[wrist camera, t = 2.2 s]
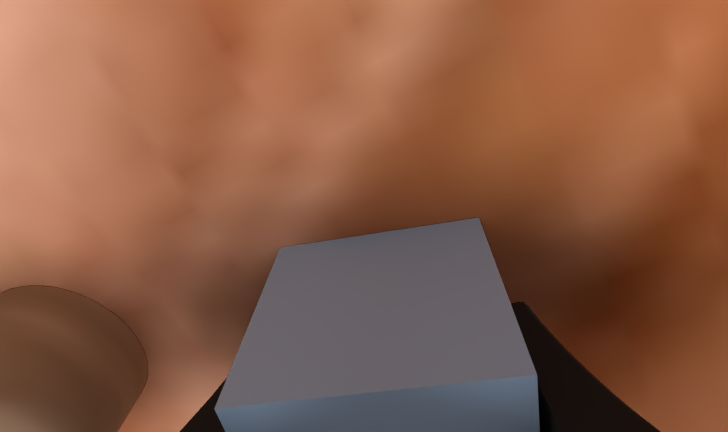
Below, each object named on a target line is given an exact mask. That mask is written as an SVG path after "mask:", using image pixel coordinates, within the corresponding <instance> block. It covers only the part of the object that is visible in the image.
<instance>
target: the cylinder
mask: <svg viewBox="0 0 728 432" xmlns="http://www.w3.org/2000/svg"><path fill="white" fill-rule="evenodd" d="M147 377H148V364H147V359H146V355H145V352H144V350H143V348H142V346H141V344H140V342H139V341H138V339H137V337H136V336H135V335H134V333H133V332H132V331H131V329H130V328H129V327H128V326H127V325H126V324H125V323H124V322H123V321H122V320H121V319H120V318H118V317H117V316H116V315H115V314H114V313H112V312H111V311H109V310H108V309H107V308H105V307H104V306H102V305H100V304H99V303H97V302H95V301H93V300H91V299H89V298H87V297H85V296H82V295H80V294H77V293H74V292H71V291H68V290H64V289H60V288H56V287H48V286H21V287H17V288H12V289H9V290H7V291H4V292H2V293H0V432H118V430H119V429H120V427H121V425H122V424H123V422H124V420H125V419H126V417H127V415H128V414H129V412H130V410H131V409H132V407H133V405H134V404H135V402H136V400H137V399H138V397H139V395H140V394H141V392H142V390H143V388H144V386H145V384H146V381H147Z"/></svg>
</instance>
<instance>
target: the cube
mask: <svg viewBox="0 0 728 432" xmlns="http://www.w3.org/2000/svg"><path fill="white" fill-rule="evenodd" d="M214 409H215V411H216V413H217V415H218V418H219V420H220V422H221V424H222V426H223V428H224V430H225V432H540V424H539V403H538V383H537V373H536V371H535V368H534V365H533V362H532V360H531V357H530V354H529V352H528V349H527V346H526V344H525V341H524V338H523V336H522V333H521V330H520V327H519V325H518V322H517V319H516V317H515V314H514V311H513V309H512V306H511V303H510V300H509V298H508V295H507V292H506V290H505V287H504V284H503V282H502V279H501V276H500V274H499V271H498V268H497V265H496V263H495V260H494V257H493V255H492V252H491V249H490V247H489V244H488V241H487V239H486V236H485V233H484V230H483V228H482V225H481V222H480V220H479V218H473V219H466V220H460V221H453V222H446V223H440V224H433V225H427V226H420V227H413V228H407V229H400V230H394V231H387V232H380V233H374V234H367V235H361V236H354V237H347V238H341V239H334V240H328V241H321V242H314V243H308V244H301V245H295V246H288V247H281V248H280V249H279V252H278V254H277V257H276V259H275V262H274V264H273V267H272V269H271V271H270V274H269V276H268V279H267V281H266V284H265V286H264V289H263V291H262V293H261V296H260V298H259V301H258V303H257V306H256V308H255V311H254V313H253V315H252V318H251V320H250V323H249V325H248V328H247V330H246V333H245V335H244V337H243V340H242V342H241V345H240V347H239V350H238V352H237V355H236V357H235V359H234V362H233V364H232V367H231V369H230V372H229V374H228V377H227V379H226V382H225V384H224V386H223V389H222V391H221V394H220V396H219V399H218V401H217V404H216V406H215V408H214Z"/></svg>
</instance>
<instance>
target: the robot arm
mask: <svg viewBox="0 0 728 432" xmlns="http://www.w3.org/2000/svg"><path fill="white" fill-rule="evenodd" d="M511 306H512V309H513V311H514V314H515V317H516V319H517V322H518V325H519V327H520V330H521V333H522V336H523V338H524V341H525V344H526V346H527V349H528V352H529V354H530V357H531V360H532V362H533V365H534V368H535V371H536V373H537V383H538V403H539V424H540V432H660V431H659V430H658V429H656V428H655V427H654V426H652V425H651V424H650V423H649V422H647V421H646V420H645V419H643V418H642V417H641V416H640V415H638V414H637V413H636V412H635V411H633V410H632V409H631V408H630V407H628V406H627V405H626V404H625V403H624V402H623V401H621V400H620V399H619V398H618V397H617V396H616V395H614V394H613V393H612V392H611V391H610V390H609V389H608V388H606V387H605V386H604V385H603V384H602V383H601V382H600V381H599V380H597V379H596V378H595V377H594V376H593V375H592V374H591V373H590V372H589V371H588V370H587V369H586V368H585V367H584V366H583V365H582V364H581V363H580V362H579V361H578V360H577V359H576V358H575V357H574V356H573V355H571V354H570V353H569V352H568V351H567V350H566V349H565V348H564V346H563V345H562V344H561V343H560V342H559V341H558V340H557V339H556V338H555V337H554V336H553V335H552V334H551V333H550V332H549V330H548V329H547V328H546V327H545V326H544V325H543V324H542V323H541V321H540V320H539V319H538V318H537V317H536V316H535V314H534V313H533V312H532V311H531V309H530V308H529V307H528V306H527V305H526V304H525V303H523V302H517V303H511ZM226 379H227V378H226ZM226 379H225V381H224V382H223V383H222V384H221V385H220V387H219V388H218V389H217V390H216V391H215V393H214V394H213V395H212V396H211V397H210V399H209V400H208V401H207V402H206V403H205V404H204V405H203V407H202V408H201V409H200V410H199V411H198V412H197V413H196V414H195V415H194V416H193V418H192V419H191V420H190V421H189V422H188V423H187V424H186V425H185V426H184V428H183V429H182V430H181V431H180V432H225V430H224V428H223V426H222V424H221V422H220V420H219V418H218V415H217V413H216V411H215V409H214V408H215V406H216V404H217V401H218V399H219V396H220V394H221V391H222V389H223V386H224V384H225V382H226Z"/></svg>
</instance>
